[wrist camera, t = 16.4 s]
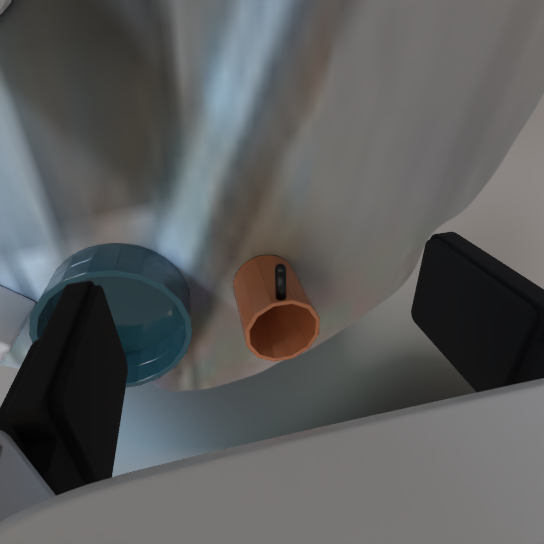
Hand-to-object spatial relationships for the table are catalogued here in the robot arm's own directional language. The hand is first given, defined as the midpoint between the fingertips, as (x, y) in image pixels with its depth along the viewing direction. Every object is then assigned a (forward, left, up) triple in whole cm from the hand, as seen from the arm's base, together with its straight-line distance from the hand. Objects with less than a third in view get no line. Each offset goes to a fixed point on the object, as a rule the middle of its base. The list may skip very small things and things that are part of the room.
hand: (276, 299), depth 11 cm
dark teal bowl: (+2, -20, -26) cm, 33 cm away
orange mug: (+13, -9, -26) cm, 31 cm away
